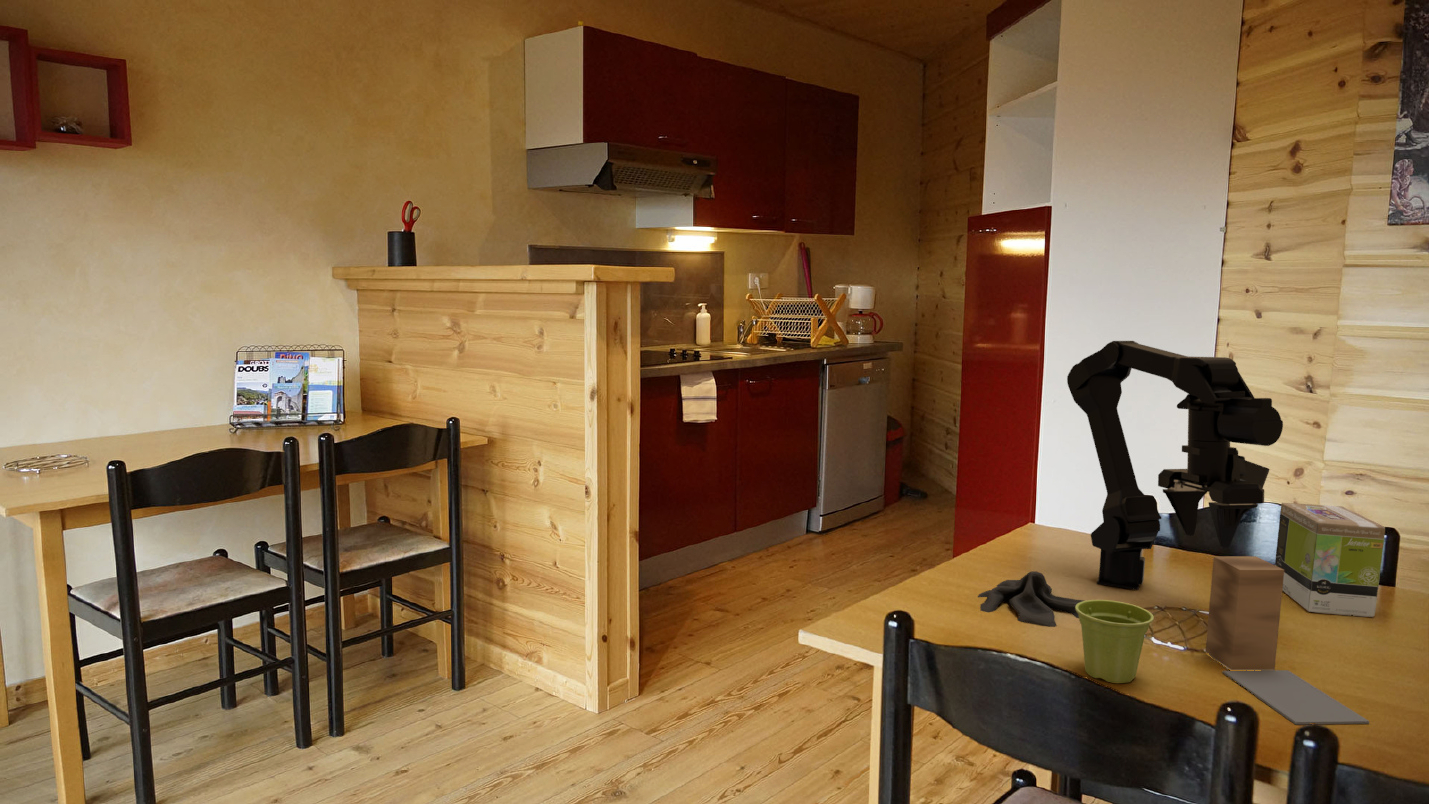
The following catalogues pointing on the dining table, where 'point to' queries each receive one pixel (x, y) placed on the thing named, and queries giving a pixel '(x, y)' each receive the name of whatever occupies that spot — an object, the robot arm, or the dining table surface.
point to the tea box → (1330, 558)
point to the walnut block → (1244, 612)
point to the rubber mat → (1295, 697)
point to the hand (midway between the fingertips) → (1207, 541)
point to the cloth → (1029, 600)
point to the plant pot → (1112, 638)
